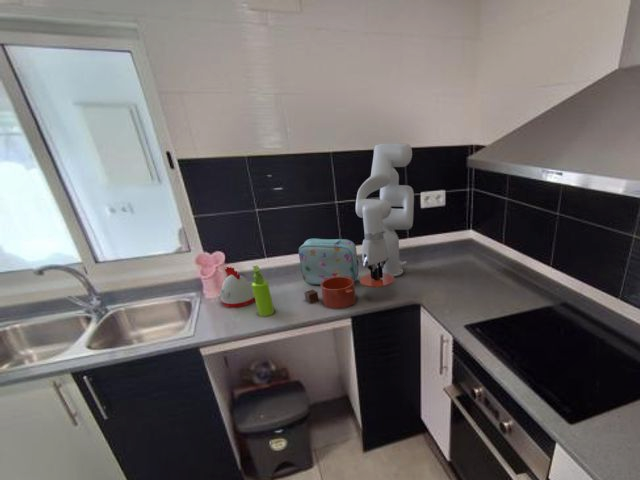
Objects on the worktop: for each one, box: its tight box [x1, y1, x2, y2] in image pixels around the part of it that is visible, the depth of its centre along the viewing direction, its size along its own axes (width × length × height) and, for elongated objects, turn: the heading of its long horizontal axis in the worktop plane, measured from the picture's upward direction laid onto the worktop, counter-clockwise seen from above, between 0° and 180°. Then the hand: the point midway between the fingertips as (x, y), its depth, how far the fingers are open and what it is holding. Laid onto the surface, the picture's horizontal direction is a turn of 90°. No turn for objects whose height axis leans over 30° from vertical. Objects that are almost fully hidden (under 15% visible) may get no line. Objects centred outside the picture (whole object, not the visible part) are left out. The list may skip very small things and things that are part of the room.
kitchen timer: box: [219, 266, 256, 308], centre depth 161 cm, size 14×14×15 cm
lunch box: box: [298, 238, 361, 286], centre depth 175 cm, size 27×10×21 cm, turn 84°
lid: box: [359, 265, 395, 288], centre depth 160 cm, size 15×15×7 cm
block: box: [304, 289, 320, 304], centre depth 162 cm, size 4×4×4 cm
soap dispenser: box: [252, 265, 275, 317], centre depth 149 cm, size 6×7×20 cm
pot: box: [320, 277, 357, 310], centre depth 160 cm, size 14×19×8 cm
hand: (376, 277), depth 161 cm, fingers closed on lid, 2 cm apart
